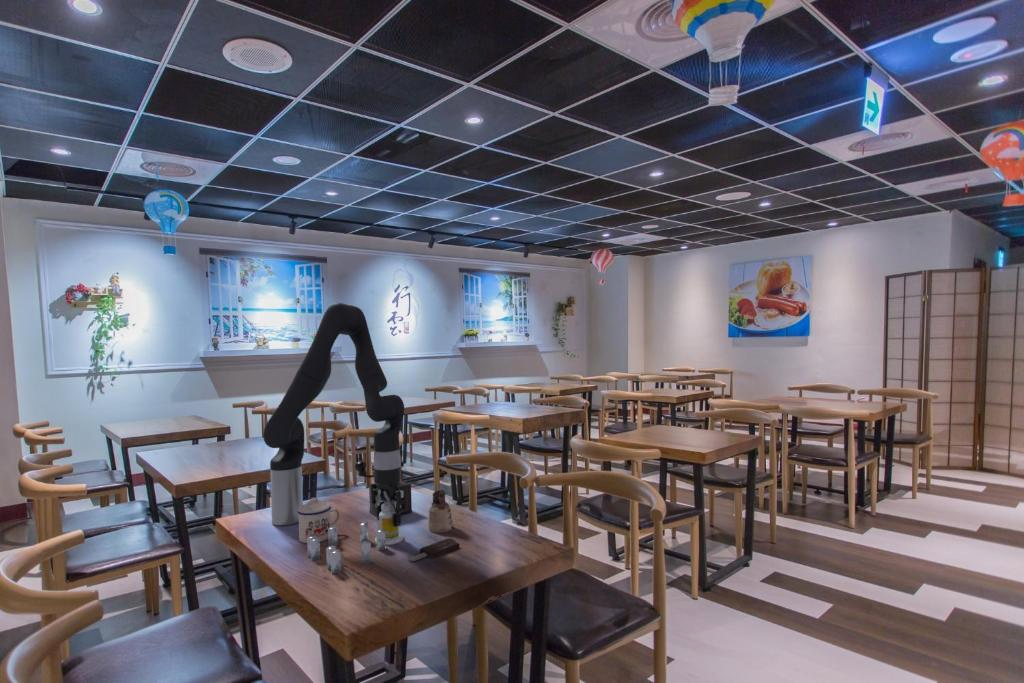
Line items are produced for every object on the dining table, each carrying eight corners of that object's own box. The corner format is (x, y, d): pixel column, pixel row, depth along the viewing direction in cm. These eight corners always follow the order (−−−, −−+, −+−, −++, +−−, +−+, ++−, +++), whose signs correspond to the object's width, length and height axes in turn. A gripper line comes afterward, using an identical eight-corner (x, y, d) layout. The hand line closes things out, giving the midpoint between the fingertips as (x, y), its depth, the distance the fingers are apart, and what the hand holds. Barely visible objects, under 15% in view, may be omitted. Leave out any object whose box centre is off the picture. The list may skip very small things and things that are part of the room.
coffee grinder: (395, 505, 182) (394, 453, 182) (412, 512, 174) (411, 458, 174) (353, 516, 172) (351, 461, 172) (369, 524, 164) (367, 466, 164)
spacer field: (299, 554, 142) (298, 536, 142) (357, 535, 155) (357, 518, 155) (336, 575, 129) (335, 555, 129) (396, 552, 142) (396, 534, 142)
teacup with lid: (304, 546, 147) (303, 505, 147) (294, 537, 155) (293, 498, 154) (346, 535, 155) (345, 496, 155) (334, 527, 162) (333, 489, 162)
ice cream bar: (416, 566, 134) (461, 548, 145) (416, 559, 134) (461, 542, 145) (404, 560, 138) (449, 543, 149) (404, 554, 138) (449, 537, 149)
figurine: (450, 523, 163) (449, 484, 163) (455, 531, 157) (454, 490, 156) (427, 526, 161) (426, 487, 161) (431, 534, 154) (429, 493, 154)
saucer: (369, 540, 151) (369, 538, 151) (392, 532, 157) (392, 530, 157) (385, 547, 145) (385, 545, 145) (409, 538, 151) (409, 536, 151)
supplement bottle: (375, 538, 151) (374, 504, 151) (391, 532, 155) (390, 500, 155) (387, 542, 147) (386, 508, 147) (402, 536, 151) (401, 503, 151)
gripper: (413, 466, 149) (414, 525, 149) (384, 459, 158) (385, 514, 159) (390, 472, 143) (392, 532, 143) (361, 464, 153) (363, 521, 153)
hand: (388, 522), depth 151 cm, fingers open, 7 cm apart
